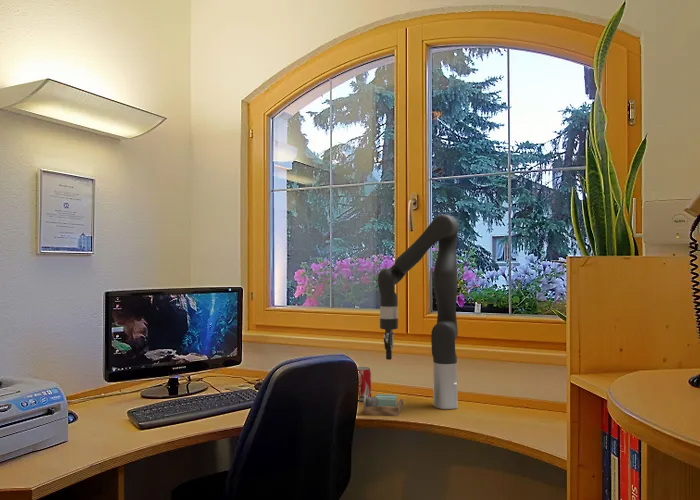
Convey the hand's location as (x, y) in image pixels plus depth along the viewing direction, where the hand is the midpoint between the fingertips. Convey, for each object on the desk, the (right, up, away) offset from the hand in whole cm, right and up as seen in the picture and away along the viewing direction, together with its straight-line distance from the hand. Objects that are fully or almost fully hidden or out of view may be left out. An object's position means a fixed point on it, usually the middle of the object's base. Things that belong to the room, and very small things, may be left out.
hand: (388, 359), depth 226 cm
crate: (-2, -17, -10) cm, 20 cm away
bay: (-4, -16, -16) cm, 23 cm away
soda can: (-11, -17, +1) cm, 20 cm away
